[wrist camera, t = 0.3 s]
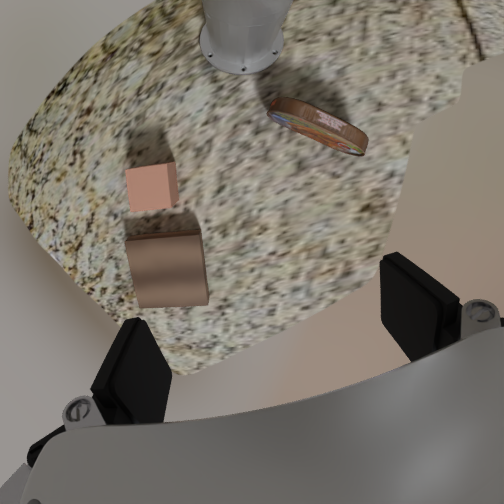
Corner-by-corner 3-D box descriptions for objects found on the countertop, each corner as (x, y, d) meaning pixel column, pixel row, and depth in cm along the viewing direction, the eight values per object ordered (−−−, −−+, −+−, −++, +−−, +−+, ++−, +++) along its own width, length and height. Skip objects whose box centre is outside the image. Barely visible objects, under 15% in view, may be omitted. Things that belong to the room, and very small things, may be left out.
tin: (262, 118, 39) (270, 111, 32) (270, 100, 38) (279, 89, 31) (349, 157, 42) (373, 160, 34) (356, 140, 41) (381, 140, 33)
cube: (138, 166, 41) (125, 169, 35) (175, 161, 41) (166, 163, 35) (142, 203, 43) (130, 212, 37) (179, 199, 43) (171, 207, 37)
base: (130, 235, 44) (124, 241, 41) (201, 229, 45) (199, 235, 42) (144, 299, 48) (139, 308, 46) (209, 296, 49) (208, 305, 46)
